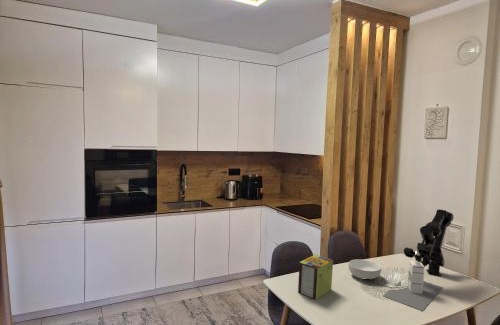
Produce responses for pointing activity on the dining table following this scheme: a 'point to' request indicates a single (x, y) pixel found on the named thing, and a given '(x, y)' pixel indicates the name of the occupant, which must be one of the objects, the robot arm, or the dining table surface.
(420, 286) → the syrup box
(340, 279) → the dining table surface
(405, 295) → the rubber mat
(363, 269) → the cereal bowl
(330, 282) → the protein box
